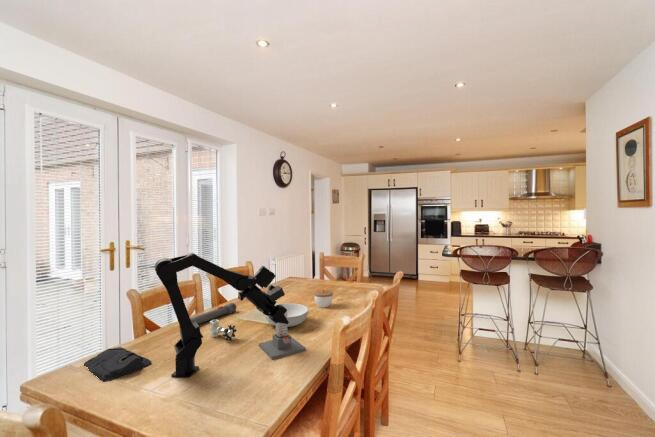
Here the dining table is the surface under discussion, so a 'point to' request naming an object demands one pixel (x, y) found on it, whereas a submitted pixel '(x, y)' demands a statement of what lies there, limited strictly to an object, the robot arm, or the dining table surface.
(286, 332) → the block
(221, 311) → the flashlight
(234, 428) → the dining table surface
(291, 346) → the jack stand base
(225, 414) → the dining table surface
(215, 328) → the valve
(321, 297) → the lidded jar
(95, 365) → the dark slate chunk
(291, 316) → the serving bowl
